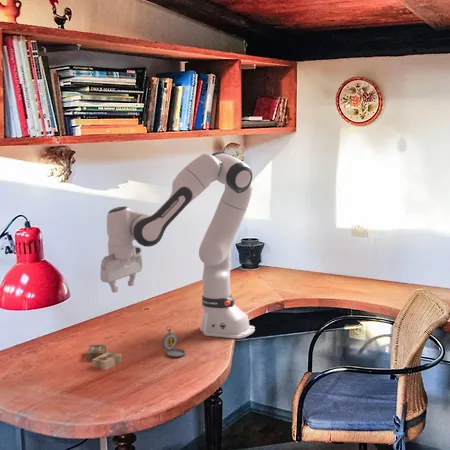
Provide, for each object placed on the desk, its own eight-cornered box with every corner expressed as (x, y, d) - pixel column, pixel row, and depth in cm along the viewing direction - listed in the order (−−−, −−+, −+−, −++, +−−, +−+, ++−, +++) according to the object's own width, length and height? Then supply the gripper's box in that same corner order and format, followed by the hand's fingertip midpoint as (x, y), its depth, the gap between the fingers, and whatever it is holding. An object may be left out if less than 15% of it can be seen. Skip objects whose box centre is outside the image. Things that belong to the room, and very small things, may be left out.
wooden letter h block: (106, 344, 230) (103, 352, 222) (106, 352, 230) (103, 360, 222) (89, 344, 229) (86, 353, 221) (90, 352, 230) (86, 361, 222)
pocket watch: (183, 358, 221) (182, 331, 220) (160, 357, 223) (159, 330, 221) (188, 350, 229) (187, 324, 228) (166, 349, 231) (165, 323, 229)
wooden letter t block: (121, 354, 219) (105, 362, 212) (121, 362, 220) (106, 370, 213) (108, 351, 222) (92, 359, 215) (108, 359, 223) (92, 367, 216)
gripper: (108, 258, 214) (111, 296, 216) (144, 247, 231) (146, 283, 233) (94, 256, 217) (97, 295, 219) (131, 246, 234) (133, 281, 236)
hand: (123, 288), depth 226 cm, fingers open, 8 cm apart
